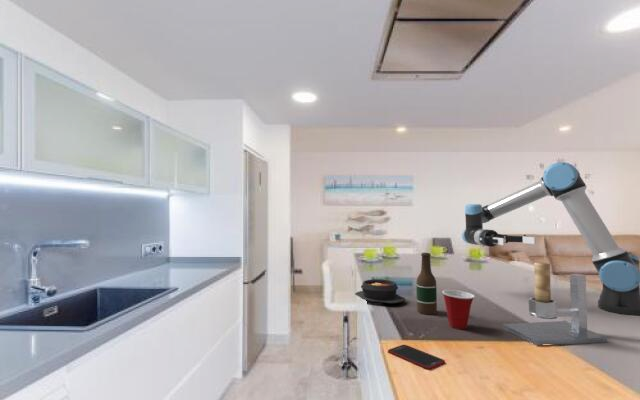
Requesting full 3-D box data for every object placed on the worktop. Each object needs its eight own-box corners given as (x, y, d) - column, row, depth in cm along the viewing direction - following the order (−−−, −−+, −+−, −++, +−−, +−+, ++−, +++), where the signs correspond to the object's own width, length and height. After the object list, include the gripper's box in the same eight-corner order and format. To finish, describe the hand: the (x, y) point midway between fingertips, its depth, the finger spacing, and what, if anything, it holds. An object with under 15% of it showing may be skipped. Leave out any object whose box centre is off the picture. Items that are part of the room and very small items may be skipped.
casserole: (414, 302, 156) (414, 283, 156) (387, 310, 144) (387, 289, 145) (372, 292, 175) (372, 275, 176) (346, 298, 164) (345, 280, 164)
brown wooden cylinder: (544, 310, 117) (543, 262, 117) (554, 313, 112) (553, 264, 113) (532, 310, 116) (531, 262, 117) (541, 314, 112) (540, 264, 112)
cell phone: (404, 347, 106) (404, 344, 106) (446, 364, 94) (446, 360, 94) (386, 353, 101) (386, 350, 101) (428, 372, 90) (428, 368, 90)
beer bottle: (436, 310, 143) (435, 252, 144) (436, 315, 136) (435, 254, 137) (417, 308, 146) (416, 251, 146) (416, 314, 138) (415, 253, 139)
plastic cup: (478, 332, 117) (478, 296, 117) (445, 330, 119) (444, 295, 120) (471, 322, 128) (470, 289, 128) (440, 320, 130) (440, 288, 130)
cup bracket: (565, 325, 124) (563, 270, 124) (607, 342, 108) (605, 279, 109) (502, 328, 121) (501, 272, 122) (536, 346, 105) (534, 281, 106)
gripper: (512, 245, 160) (548, 249, 139) (461, 246, 157) (491, 251, 136) (511, 228, 160) (547, 231, 139) (461, 230, 157) (490, 232, 136)
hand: (519, 241), depth 137 cm, fingers open, 13 cm apart
